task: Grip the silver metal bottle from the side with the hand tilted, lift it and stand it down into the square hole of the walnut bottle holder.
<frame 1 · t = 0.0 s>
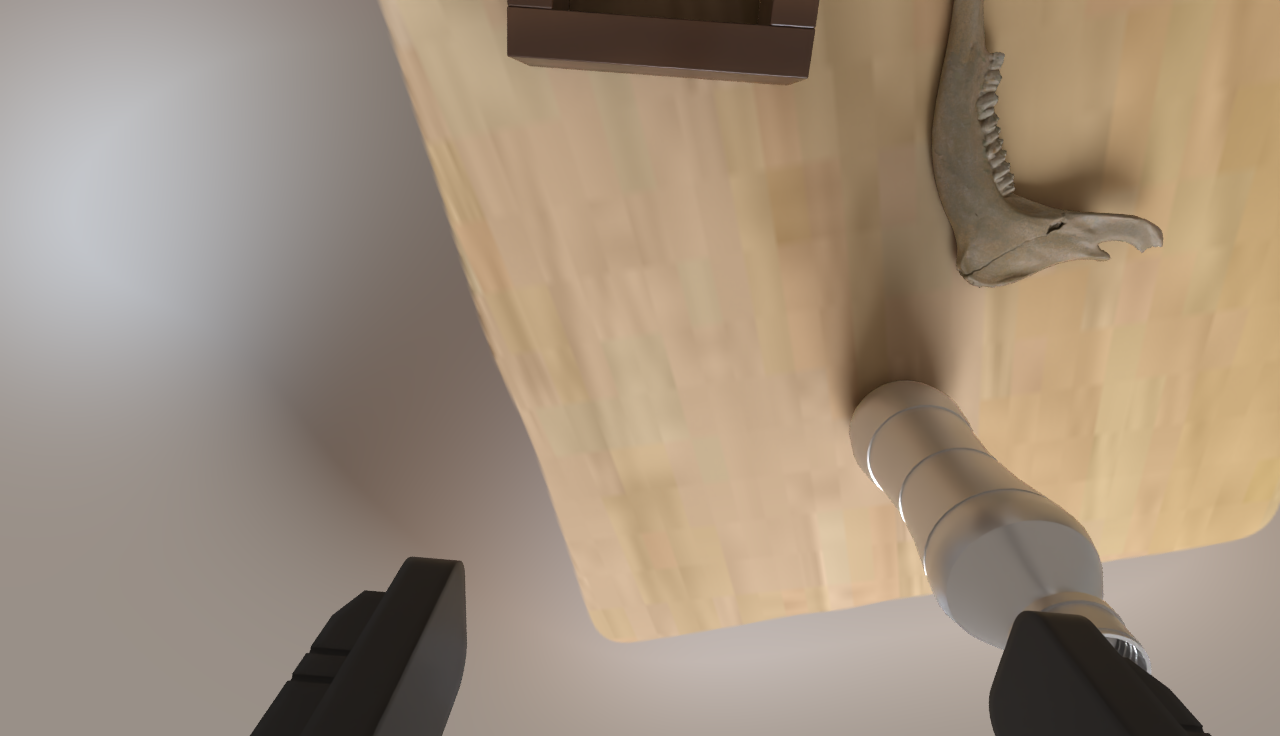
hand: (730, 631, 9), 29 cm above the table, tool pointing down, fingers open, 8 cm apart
jawbone: (1040, 97, 34), on the table
silver metal bottle: (892, 417, 40), on the table
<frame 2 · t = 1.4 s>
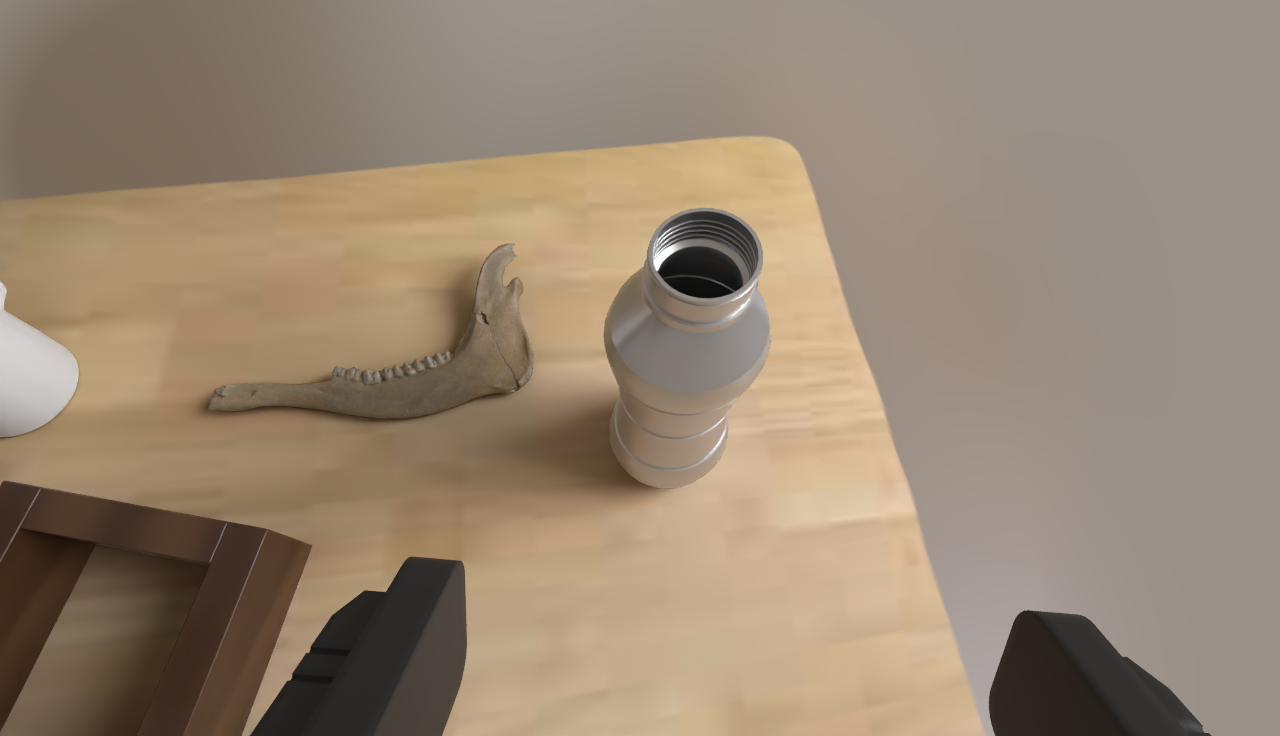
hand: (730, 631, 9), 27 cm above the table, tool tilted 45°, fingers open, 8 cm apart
mug: (32, 365, 40), on the table
bottle holder: (136, 654, 33), on the table
jawbone: (385, 337, 41), on the table
silver metal bottle: (665, 444, 39), on the table
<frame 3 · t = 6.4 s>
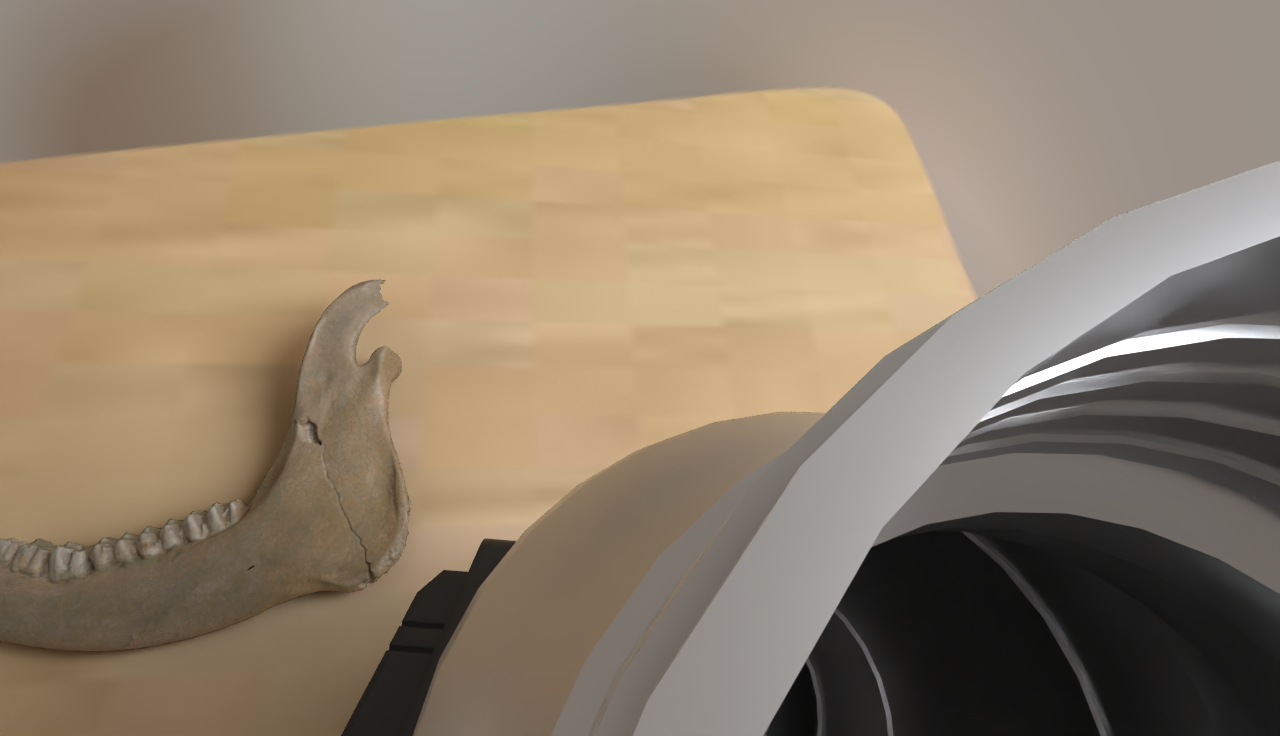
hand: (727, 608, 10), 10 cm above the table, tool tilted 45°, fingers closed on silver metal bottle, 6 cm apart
jawbone: (132, 464, 21), on the table
silver metal bottle: (675, 697, 19), on the table, touching gripper
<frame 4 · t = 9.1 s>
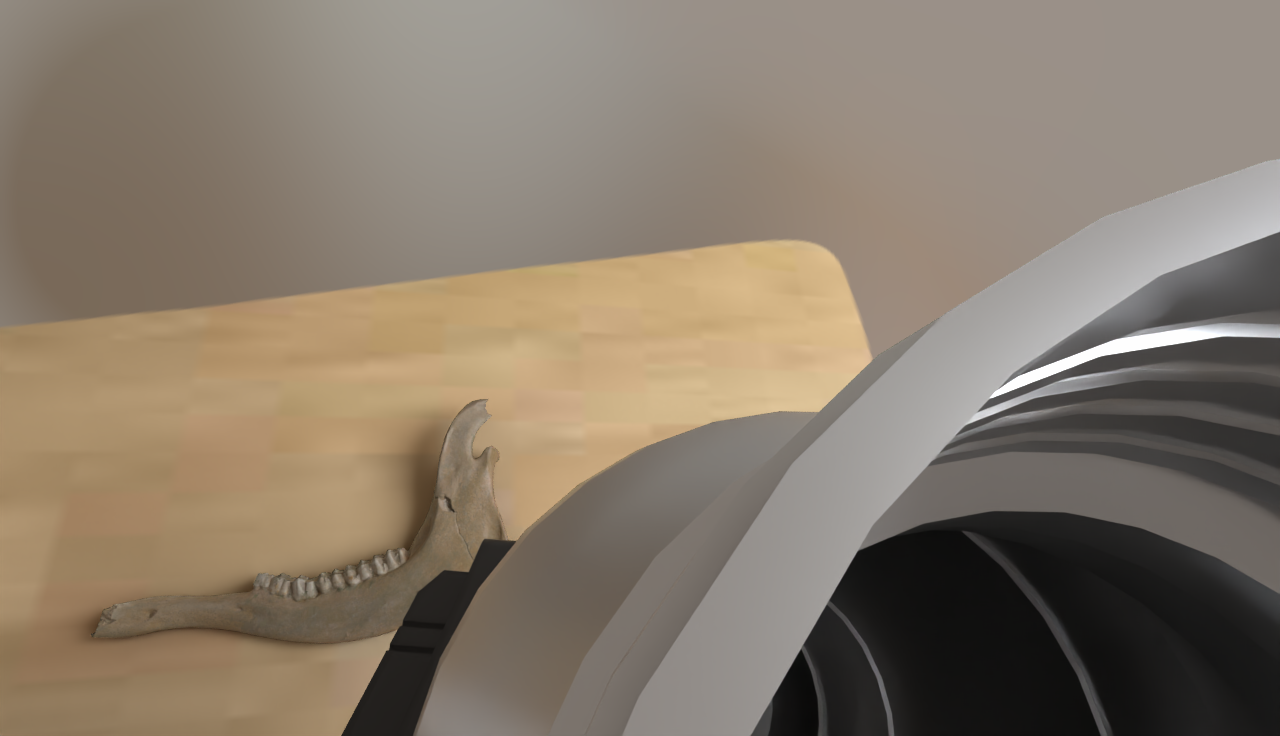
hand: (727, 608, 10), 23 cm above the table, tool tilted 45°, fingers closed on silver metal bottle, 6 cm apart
jawbone: (327, 522, 33), on the table
silver metal bottle: (676, 697, 19), point 12 cm above the table, touching gripper
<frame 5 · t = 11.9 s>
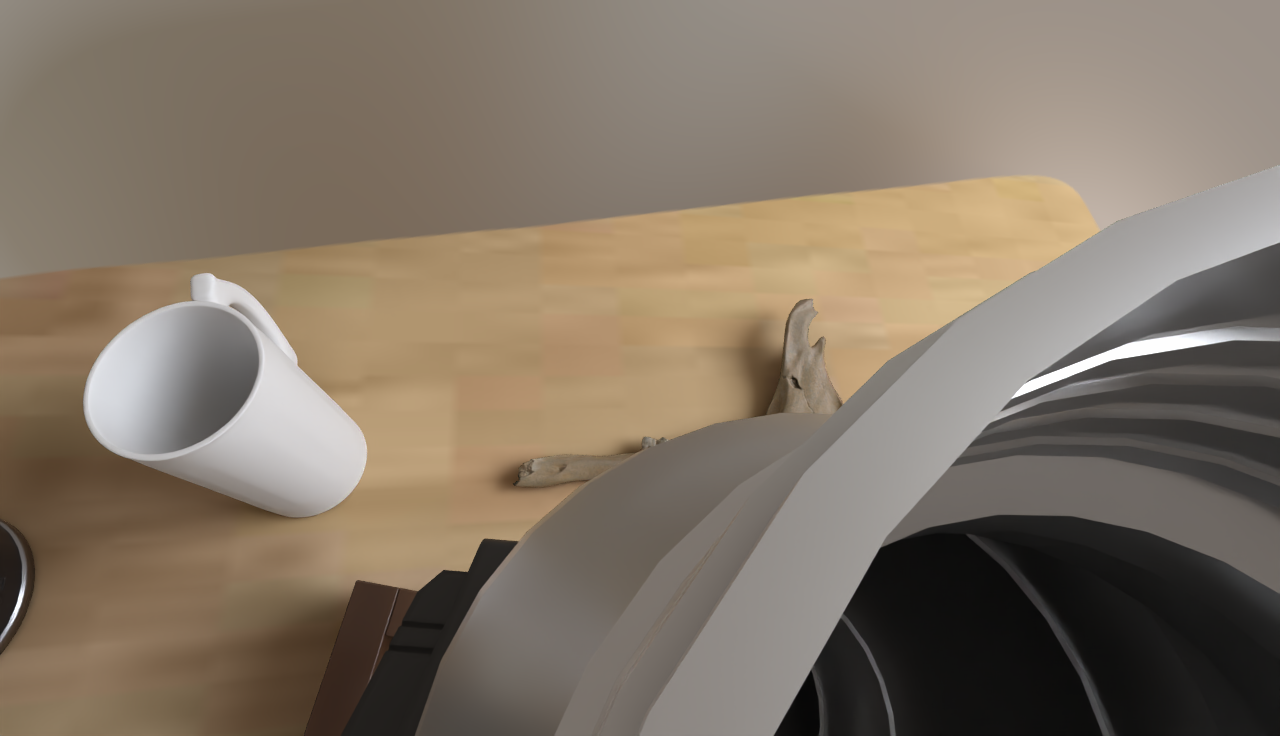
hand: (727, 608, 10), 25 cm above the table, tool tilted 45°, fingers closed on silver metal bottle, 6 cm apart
mug: (313, 436, 37), on the table
jawbone: (680, 401, 38), on the table
silver metal bottle: (676, 698, 19), point 14 cm above the table, touching gripper
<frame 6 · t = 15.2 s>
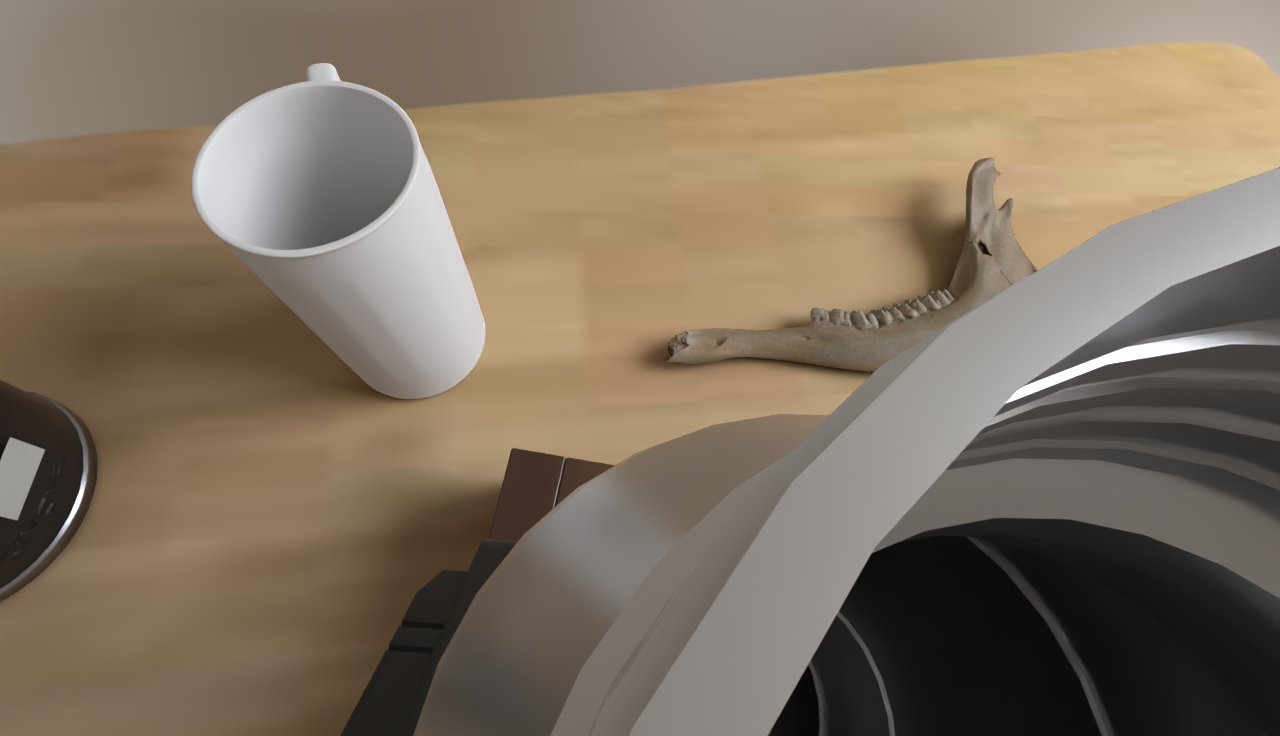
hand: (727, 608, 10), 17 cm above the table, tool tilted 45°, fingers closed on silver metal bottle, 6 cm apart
mug: (418, 311, 31), on the table
bottle holder: (660, 681, 25), on the table
jawbone: (844, 275, 33), on the table
silver metal bottle: (676, 699, 19), point 7 cm above the table, touching gripper
when the fingers open (10 cm above the table, at t = 17.6 s): silver metal bottle stays where it is, resting in bottle holder.
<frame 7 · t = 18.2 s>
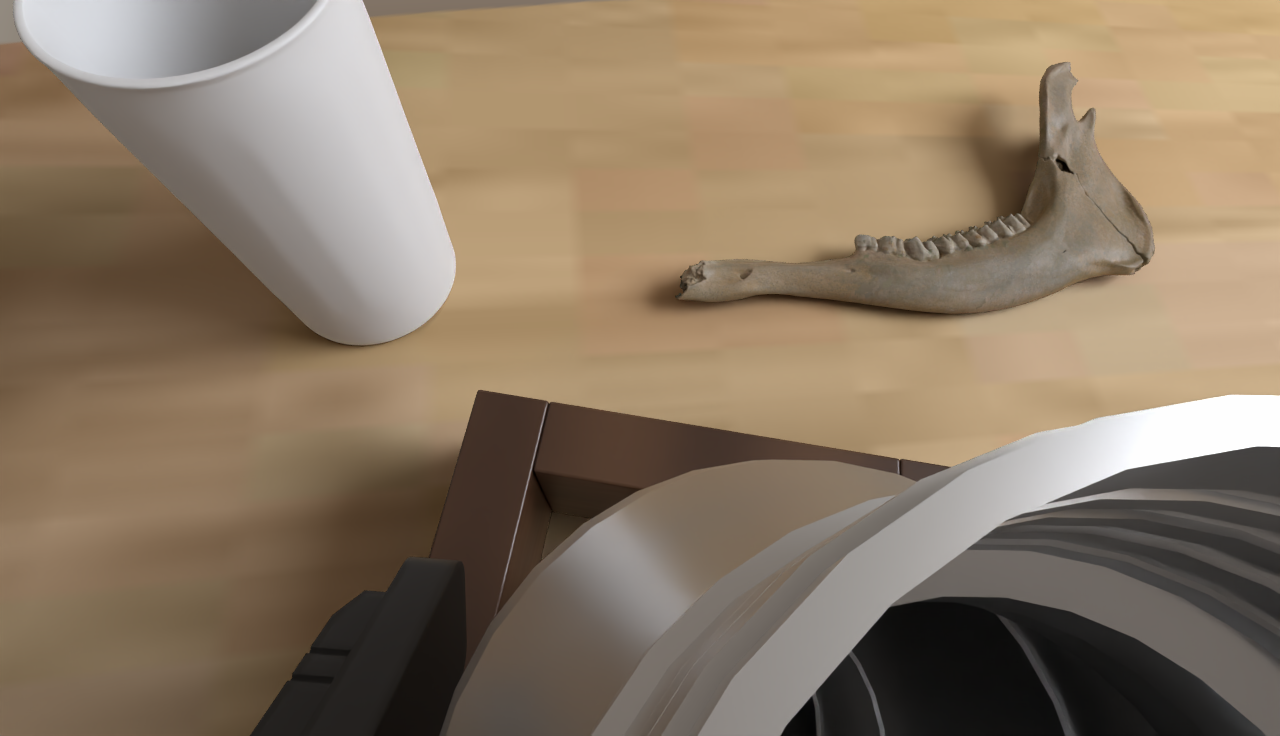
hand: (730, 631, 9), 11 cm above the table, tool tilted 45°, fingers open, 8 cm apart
mug: (375, 243, 26), on the table
bottle holder: (673, 698, 19), on the table
jawbone: (891, 202, 27), on the table
silver metal bottle: (678, 705, 19), resting in bottle holder
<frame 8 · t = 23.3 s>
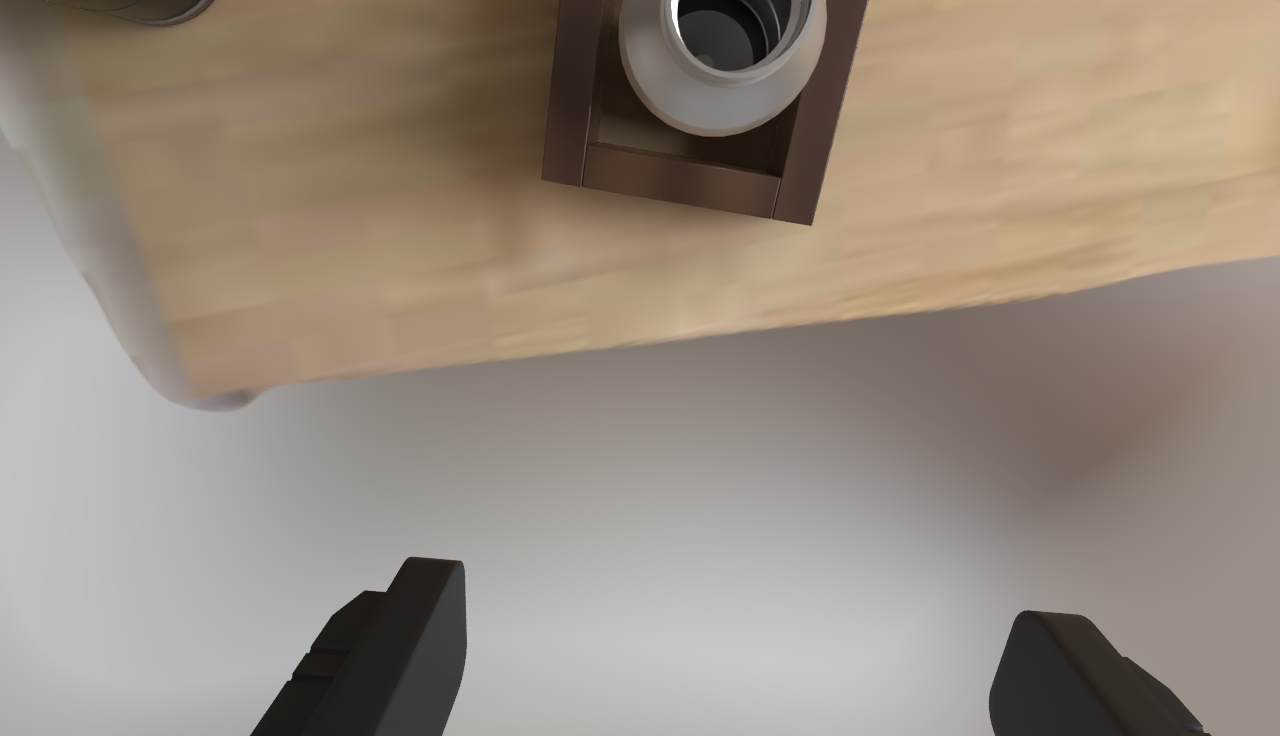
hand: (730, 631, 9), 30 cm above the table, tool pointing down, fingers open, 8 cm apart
bottle holder: (698, 62, 34), on the table
silver metal bottle: (700, 67, 34), resting in bottle holder
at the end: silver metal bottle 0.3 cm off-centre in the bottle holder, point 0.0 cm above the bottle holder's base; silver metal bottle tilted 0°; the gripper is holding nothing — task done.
